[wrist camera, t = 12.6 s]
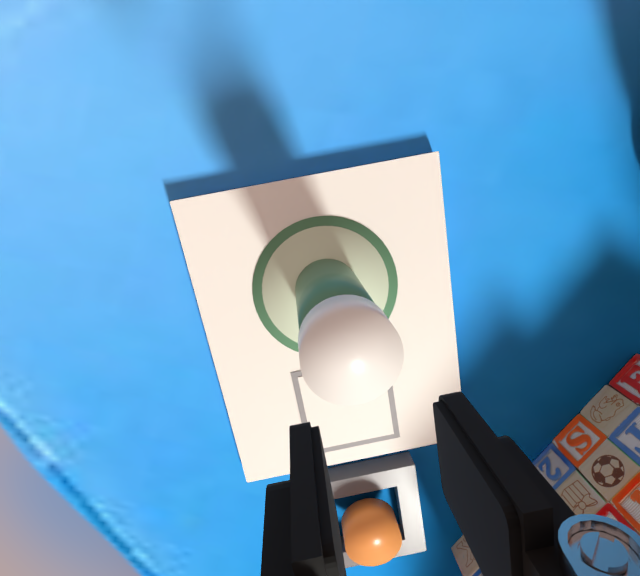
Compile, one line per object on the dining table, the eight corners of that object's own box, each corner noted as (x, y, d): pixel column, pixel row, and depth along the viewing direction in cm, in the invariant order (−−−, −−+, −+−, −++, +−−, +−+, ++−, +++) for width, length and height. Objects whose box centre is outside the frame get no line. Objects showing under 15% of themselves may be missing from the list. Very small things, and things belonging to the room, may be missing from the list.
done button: (391, 493, 30) (398, 514, 28) (398, 535, 32) (405, 559, 30) (337, 504, 30) (340, 527, 28) (346, 546, 31) (349, 571, 30)
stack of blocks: (633, 348, 31) (851, 460, 19) (686, 390, 32) (920, 519, 20) (448, 548, 34) (533, 745, 23) (502, 577, 36) (609, 778, 24)
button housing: (408, 451, 31) (414, 465, 30) (420, 534, 34) (426, 550, 32) (304, 472, 31) (305, 487, 30) (322, 555, 33) (324, 572, 32)
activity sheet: (433, 152, 26) (439, 151, 25) (459, 429, 31) (465, 438, 30) (174, 200, 25) (169, 201, 24) (248, 472, 31) (246, 483, 30)
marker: (354, 251, 26) (397, 300, 16) (364, 314, 27) (409, 394, 17) (287, 263, 26) (290, 320, 16) (300, 326, 27) (310, 414, 17)
